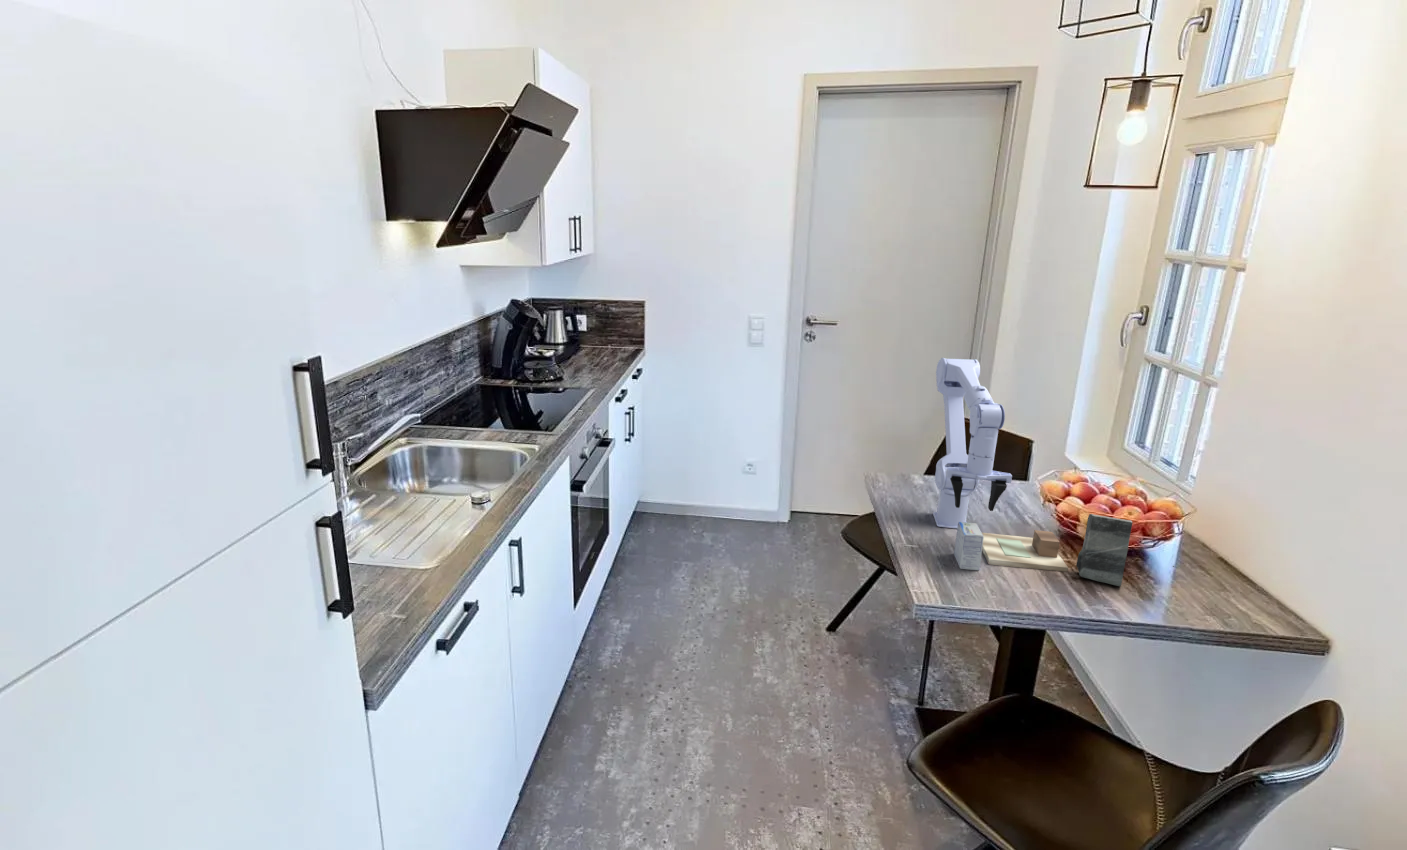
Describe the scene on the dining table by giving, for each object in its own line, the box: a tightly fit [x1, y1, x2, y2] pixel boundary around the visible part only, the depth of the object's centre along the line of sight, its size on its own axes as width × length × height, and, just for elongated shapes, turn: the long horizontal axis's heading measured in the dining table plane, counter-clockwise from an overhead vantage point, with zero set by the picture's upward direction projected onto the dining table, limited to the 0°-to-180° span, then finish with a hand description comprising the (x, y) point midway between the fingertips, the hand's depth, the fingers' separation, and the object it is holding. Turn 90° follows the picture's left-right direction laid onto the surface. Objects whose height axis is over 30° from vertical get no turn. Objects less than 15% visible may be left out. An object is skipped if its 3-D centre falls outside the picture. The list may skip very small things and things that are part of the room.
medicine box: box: [953, 521, 984, 571], centre depth 160 cm, size 8×4×9 cm, turn 170°
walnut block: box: [1032, 529, 1060, 558], centre depth 164 cm, size 6×4×4 cm, turn 169°
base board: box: [982, 532, 1069, 573], centre depth 166 cm, size 16×17×2 cm
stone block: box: [1076, 513, 1133, 587], centre depth 153 cm, size 9×14×5 cm
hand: (973, 507), depth 166 cm, fingers open, 7 cm apart
